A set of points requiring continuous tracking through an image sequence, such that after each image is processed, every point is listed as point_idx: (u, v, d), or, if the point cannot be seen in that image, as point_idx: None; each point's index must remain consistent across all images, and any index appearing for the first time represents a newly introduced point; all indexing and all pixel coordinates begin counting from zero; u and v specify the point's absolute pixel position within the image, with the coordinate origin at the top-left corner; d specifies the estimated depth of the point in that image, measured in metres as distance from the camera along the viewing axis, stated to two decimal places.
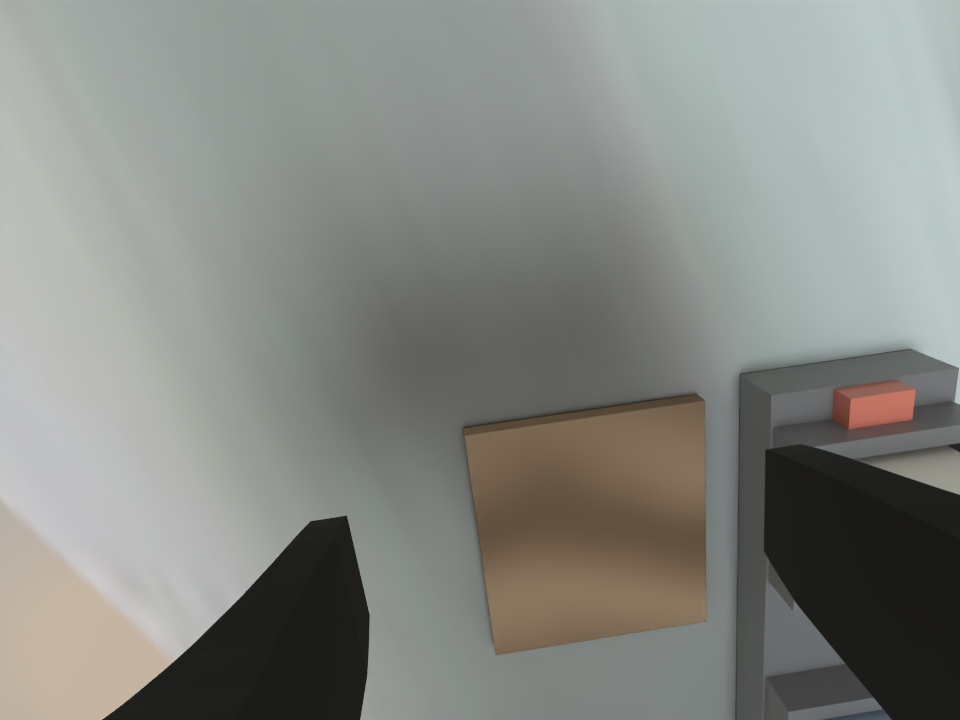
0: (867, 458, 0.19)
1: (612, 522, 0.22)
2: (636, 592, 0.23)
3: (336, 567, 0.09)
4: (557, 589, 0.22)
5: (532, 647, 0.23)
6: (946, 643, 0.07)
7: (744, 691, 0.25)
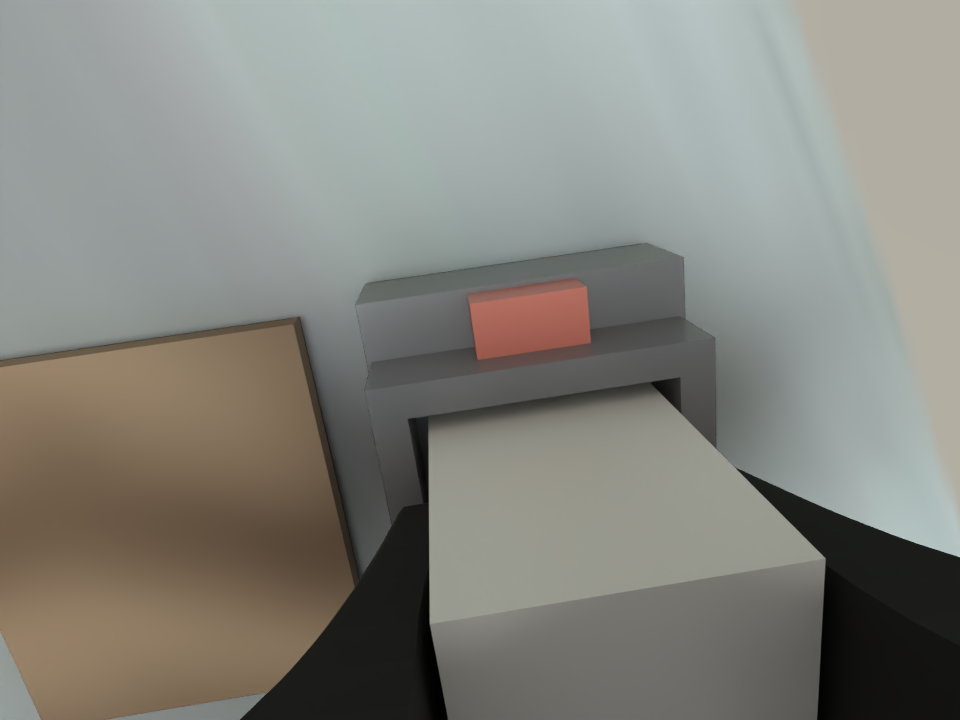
0: (512, 410, 0.11)
1: (183, 525, 0.14)
2: (251, 632, 0.15)
3: None
4: (119, 629, 0.14)
5: (102, 717, 0.15)
6: None
7: None
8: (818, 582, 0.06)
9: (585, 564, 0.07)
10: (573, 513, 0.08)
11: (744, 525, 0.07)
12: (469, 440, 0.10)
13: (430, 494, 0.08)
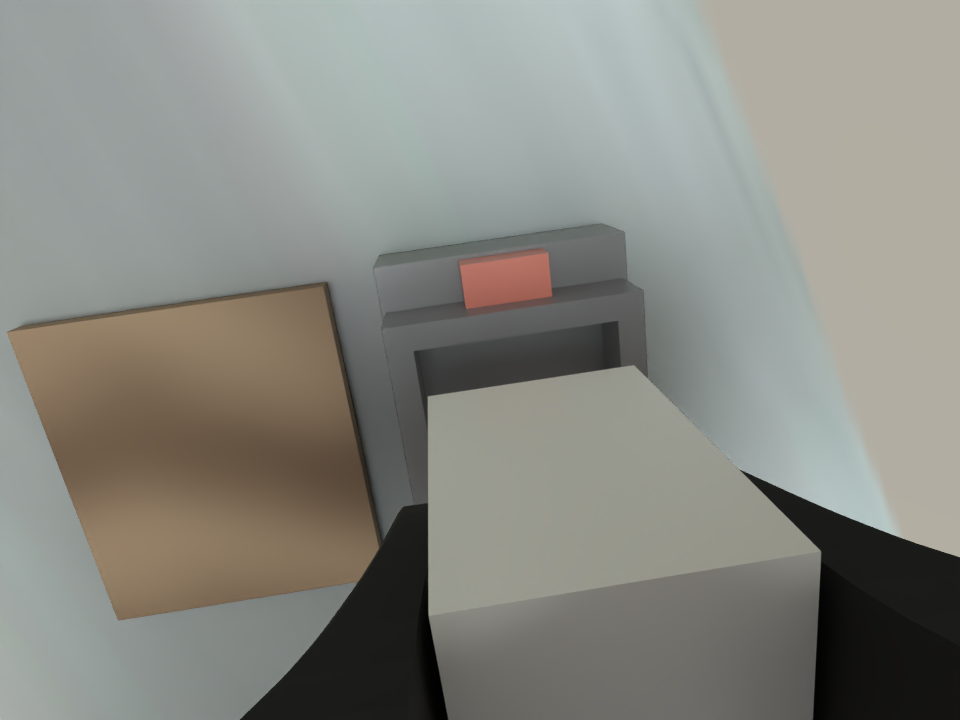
0: (511, 406, 0.11)
1: (234, 448, 0.17)
2: (285, 539, 0.18)
3: None
4: (180, 536, 0.18)
5: (164, 610, 0.19)
6: (816, 665, 0.07)
7: None
8: (814, 575, 0.07)
9: (583, 557, 0.07)
10: (572, 507, 0.08)
11: (741, 519, 0.07)
12: (469, 435, 0.10)
13: (429, 489, 0.09)
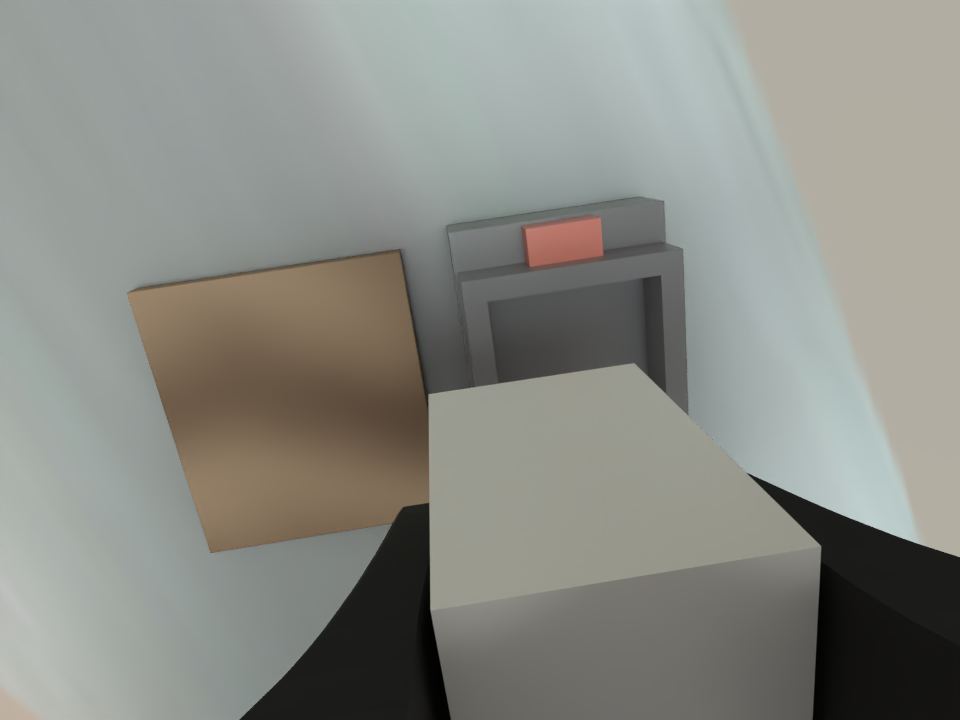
0: (512, 403, 0.11)
1: (317, 397, 0.20)
2: (359, 479, 0.21)
3: None
4: (267, 476, 0.20)
5: (251, 544, 0.21)
6: (816, 665, 0.07)
7: None
8: (814, 570, 0.07)
9: (583, 553, 0.07)
10: (572, 503, 0.08)
11: (741, 514, 0.07)
12: (469, 433, 0.10)
13: (430, 485, 0.09)
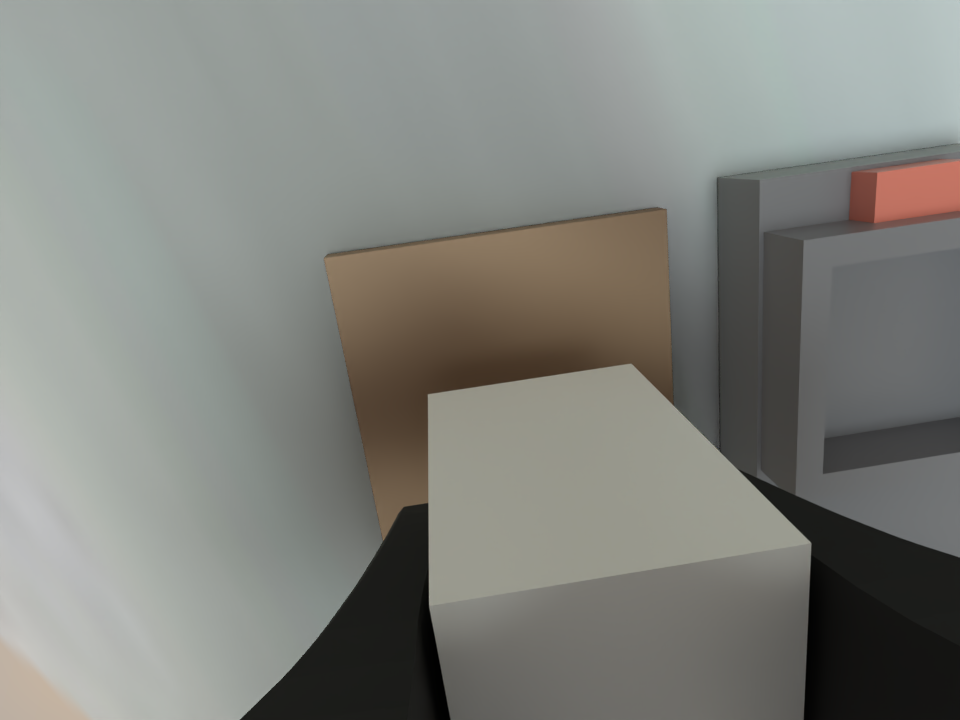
0: (510, 403, 0.11)
1: None
2: None
3: None
4: None
5: None
6: (816, 665, 0.07)
7: None
8: (805, 566, 0.07)
9: (579, 551, 0.07)
10: (568, 501, 0.08)
11: (734, 512, 0.07)
12: (468, 432, 0.10)
13: (430, 484, 0.09)
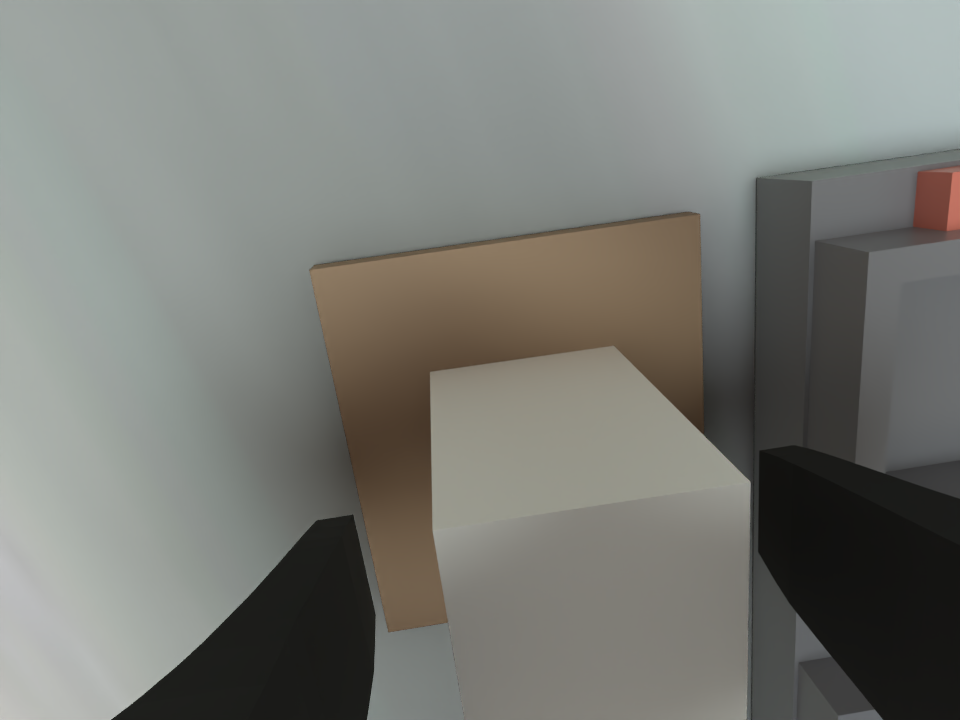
0: (503, 379, 0.12)
1: None
2: None
3: (343, 566, 0.09)
4: None
5: (444, 620, 0.15)
6: (937, 645, 0.07)
7: (764, 685, 0.17)
8: (746, 503, 0.08)
9: (558, 489, 0.08)
10: (551, 454, 0.09)
11: (690, 460, 0.08)
12: (466, 402, 0.11)
13: (432, 443, 0.10)
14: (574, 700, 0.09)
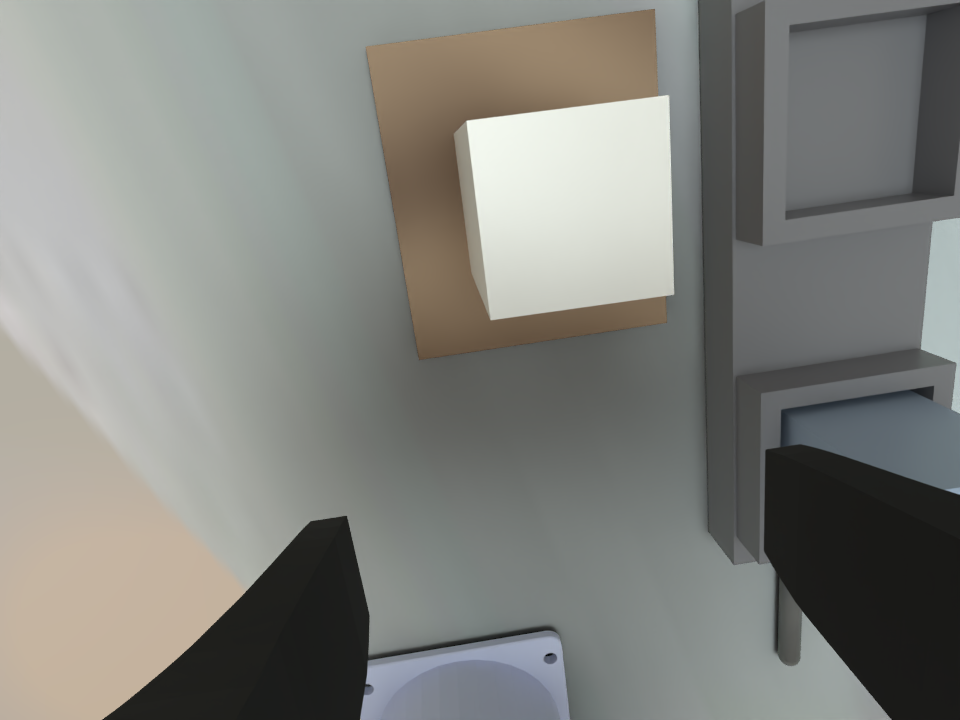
0: None
1: None
2: None
3: (336, 567, 0.09)
4: None
5: (462, 350, 0.20)
6: (946, 643, 0.07)
7: (714, 421, 0.21)
8: (667, 114, 0.12)
9: None
10: None
11: None
12: None
13: (460, 127, 0.14)
14: (557, 264, 0.13)
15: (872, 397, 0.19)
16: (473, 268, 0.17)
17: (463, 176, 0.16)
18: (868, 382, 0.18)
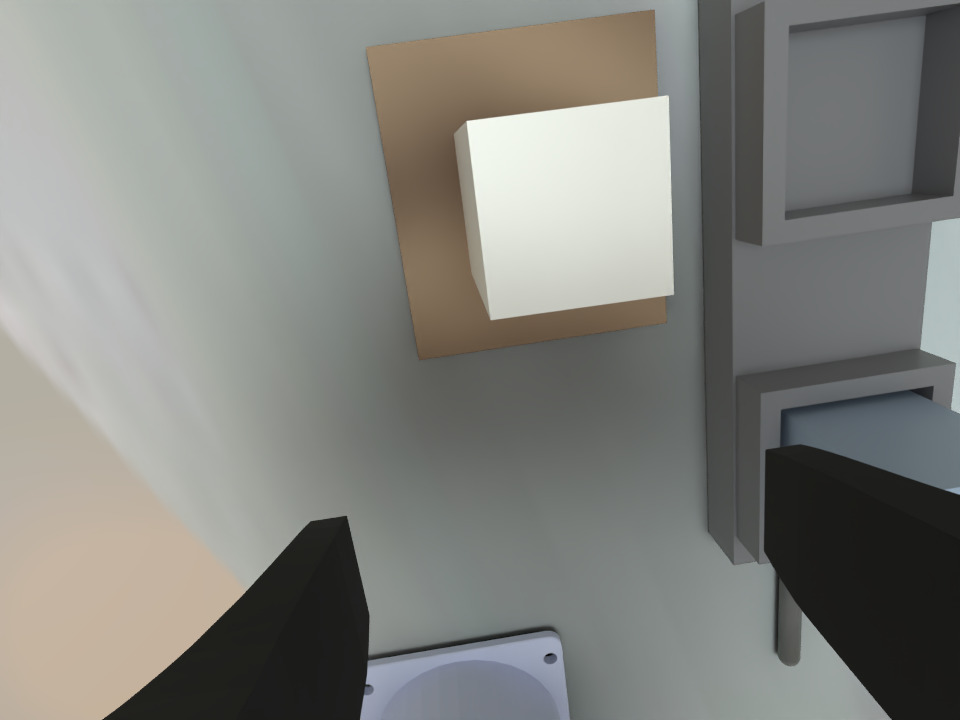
0: None
1: None
2: None
3: (336, 567, 0.09)
4: None
5: (462, 351, 0.20)
6: (945, 643, 0.07)
7: (714, 421, 0.21)
8: (667, 115, 0.12)
9: None
10: None
11: None
12: None
13: (460, 127, 0.14)
14: (557, 264, 0.13)
15: (872, 397, 0.19)
16: (473, 268, 0.17)
17: (463, 176, 0.16)
18: (868, 382, 0.18)
